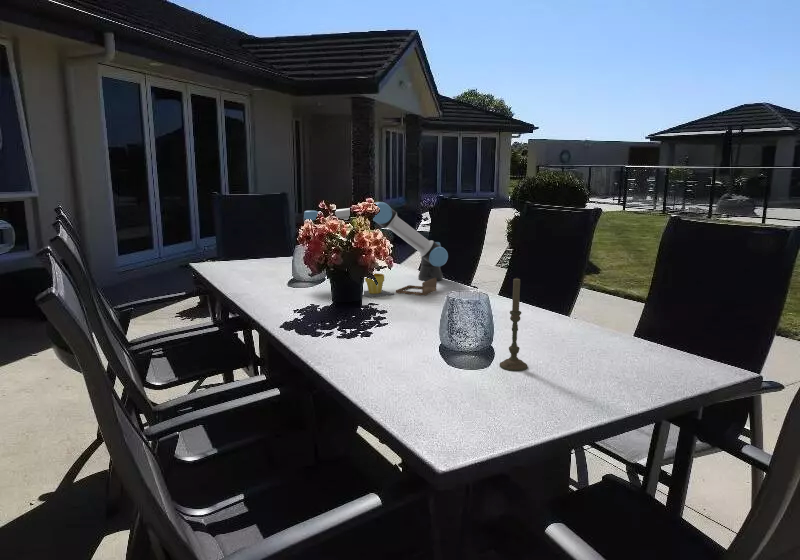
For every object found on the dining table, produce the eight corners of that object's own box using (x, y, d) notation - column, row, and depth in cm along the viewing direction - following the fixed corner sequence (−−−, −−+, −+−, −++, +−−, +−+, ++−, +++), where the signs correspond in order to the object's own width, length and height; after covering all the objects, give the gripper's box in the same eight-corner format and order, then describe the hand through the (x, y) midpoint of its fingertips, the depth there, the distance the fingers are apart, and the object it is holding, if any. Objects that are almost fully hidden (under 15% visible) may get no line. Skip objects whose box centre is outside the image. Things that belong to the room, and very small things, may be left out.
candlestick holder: (528, 363, 186) (531, 275, 181) (527, 372, 178) (531, 279, 172) (500, 361, 189) (503, 274, 183) (498, 369, 180) (501, 278, 175)
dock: (395, 292, 302) (395, 280, 301) (408, 287, 317) (408, 275, 316) (424, 295, 295) (424, 282, 294) (436, 290, 310) (436, 277, 308)
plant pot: (362, 294, 296) (362, 276, 295) (369, 290, 306) (369, 272, 304) (380, 295, 293) (380, 277, 292) (387, 291, 303) (386, 273, 301)
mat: (379, 290, 310) (379, 289, 310) (394, 294, 298) (394, 293, 298) (356, 293, 302) (356, 292, 302) (370, 297, 290) (370, 296, 290)
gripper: (338, 243, 320) (370, 245, 311) (313, 248, 298) (346, 250, 289) (338, 230, 319) (370, 232, 310) (312, 234, 297) (346, 236, 288)
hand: (358, 241), depth 299 cm, fingers open, 13 cm apart
